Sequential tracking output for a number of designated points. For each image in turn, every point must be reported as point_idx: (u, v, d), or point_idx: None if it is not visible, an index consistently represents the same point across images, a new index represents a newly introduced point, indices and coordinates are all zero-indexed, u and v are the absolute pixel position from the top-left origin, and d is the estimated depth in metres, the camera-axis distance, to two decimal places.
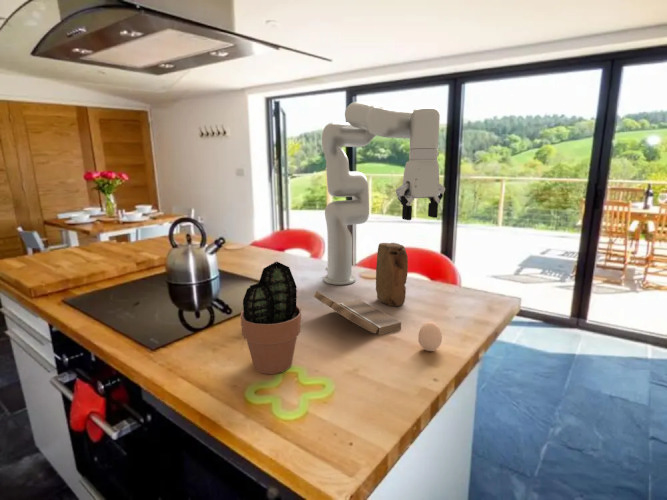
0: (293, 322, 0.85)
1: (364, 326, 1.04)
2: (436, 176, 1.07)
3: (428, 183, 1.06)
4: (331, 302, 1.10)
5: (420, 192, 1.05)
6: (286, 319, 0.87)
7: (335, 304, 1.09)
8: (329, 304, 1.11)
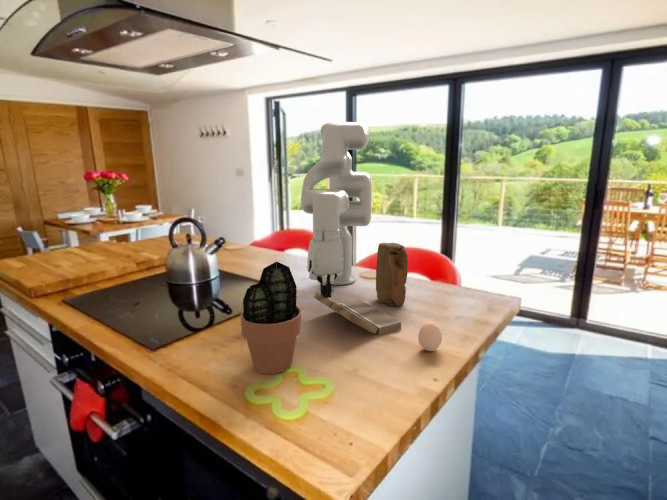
0: (293, 322, 0.85)
1: (364, 326, 1.04)
2: (340, 254, 1.11)
3: (330, 261, 1.10)
4: (331, 303, 1.10)
5: (322, 270, 1.10)
6: (286, 319, 0.87)
7: (335, 304, 1.09)
8: (329, 305, 1.11)
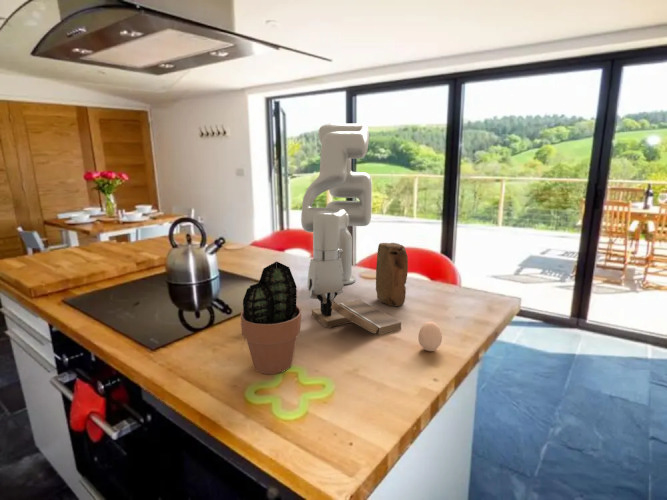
0: (293, 322, 0.85)
1: (364, 326, 1.04)
2: (340, 273, 1.12)
3: (331, 280, 1.11)
4: (326, 322, 1.11)
5: (323, 289, 1.11)
6: (286, 319, 0.87)
7: (335, 304, 1.09)
8: (326, 324, 1.12)
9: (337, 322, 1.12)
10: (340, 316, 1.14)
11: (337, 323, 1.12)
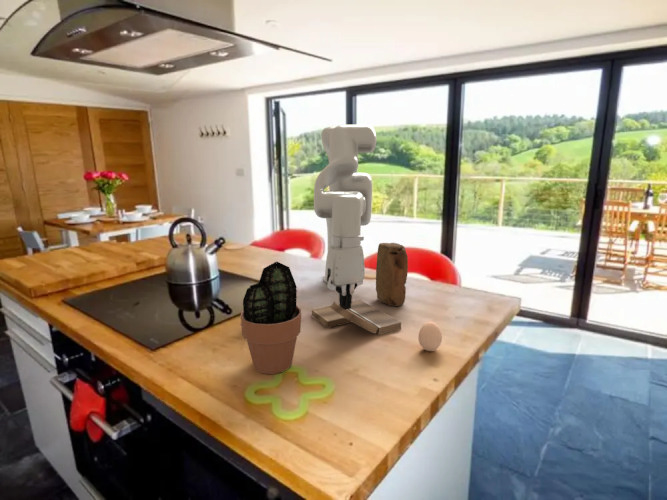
0: (293, 322, 0.85)
1: (364, 326, 1.04)
2: (360, 262, 1.03)
3: (351, 270, 1.01)
4: (326, 322, 1.11)
5: (342, 280, 1.01)
6: (286, 319, 0.87)
7: (335, 304, 1.09)
8: (326, 324, 1.12)
9: (337, 322, 1.12)
10: (340, 316, 1.14)
11: (337, 323, 1.12)
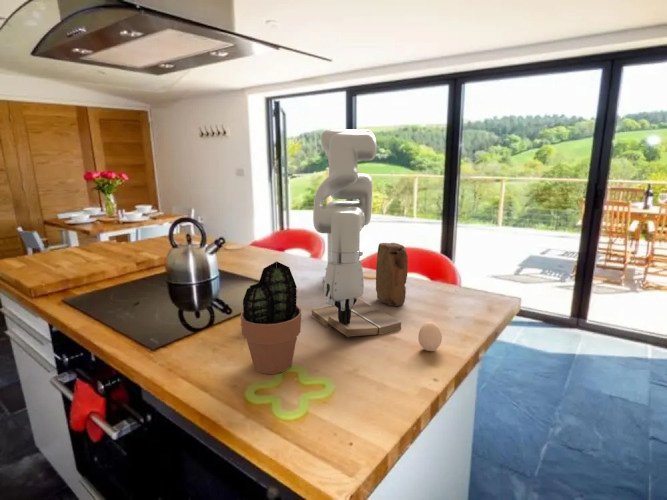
0: (293, 322, 0.85)
1: (363, 333, 1.04)
2: (359, 277, 1.03)
3: (350, 285, 1.02)
4: (326, 322, 1.11)
5: (341, 295, 1.01)
6: (286, 319, 0.87)
7: (330, 318, 1.09)
8: (326, 324, 1.12)
9: None
10: None
11: None
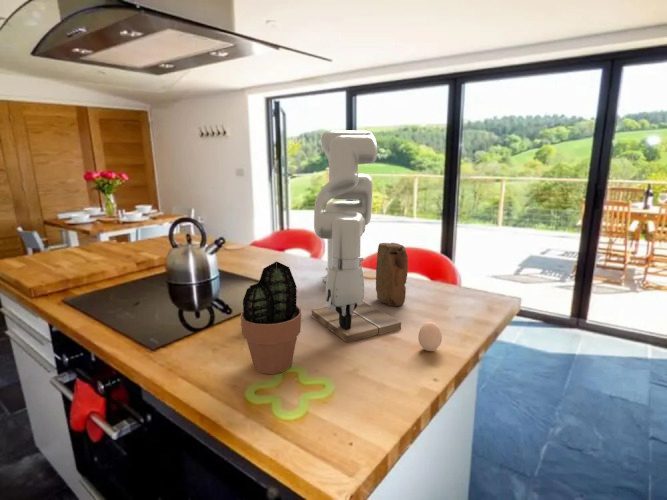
0: (293, 322, 0.85)
1: (364, 336, 1.05)
2: (360, 283, 1.04)
3: (351, 291, 1.02)
4: (326, 322, 1.11)
5: (342, 300, 1.02)
6: (286, 319, 0.87)
7: (330, 324, 1.09)
8: (326, 324, 1.12)
9: None
10: None
11: None
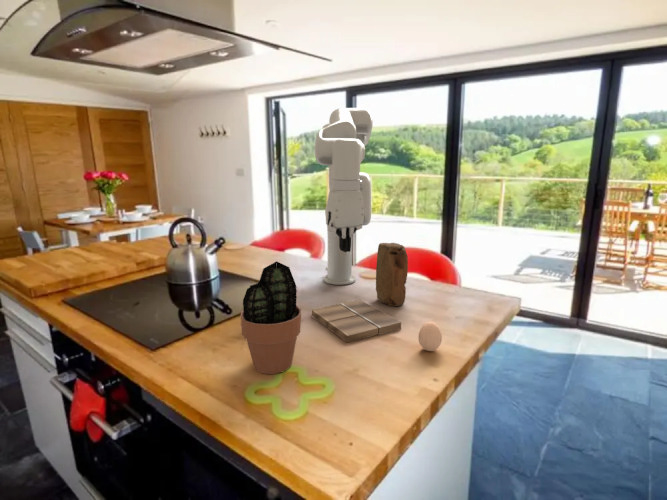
0: (293, 322, 0.85)
1: (364, 336, 1.05)
2: (360, 206, 1.07)
3: (350, 213, 1.06)
4: (326, 322, 1.11)
5: (342, 222, 1.05)
6: (286, 319, 0.87)
7: (330, 324, 1.09)
8: (326, 324, 1.12)
9: None
10: (340, 316, 1.14)
11: None
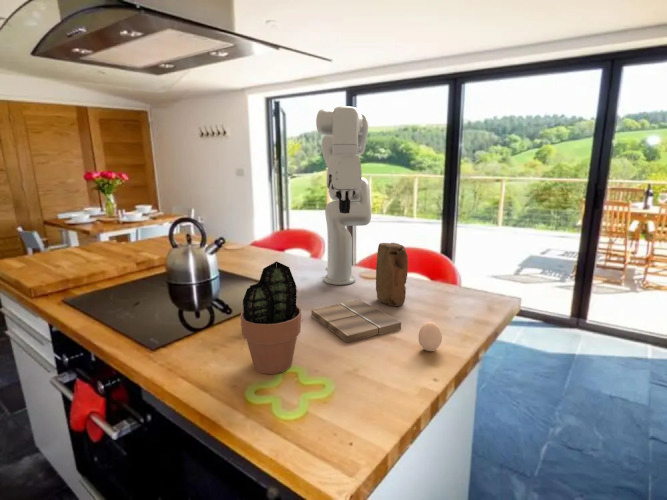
0: (293, 322, 0.85)
1: (364, 336, 1.05)
2: (358, 170, 1.16)
3: (349, 176, 1.14)
4: (326, 322, 1.11)
5: (342, 184, 1.14)
6: (286, 319, 0.87)
7: (330, 324, 1.09)
8: (326, 324, 1.12)
9: None
10: (340, 316, 1.14)
11: None
